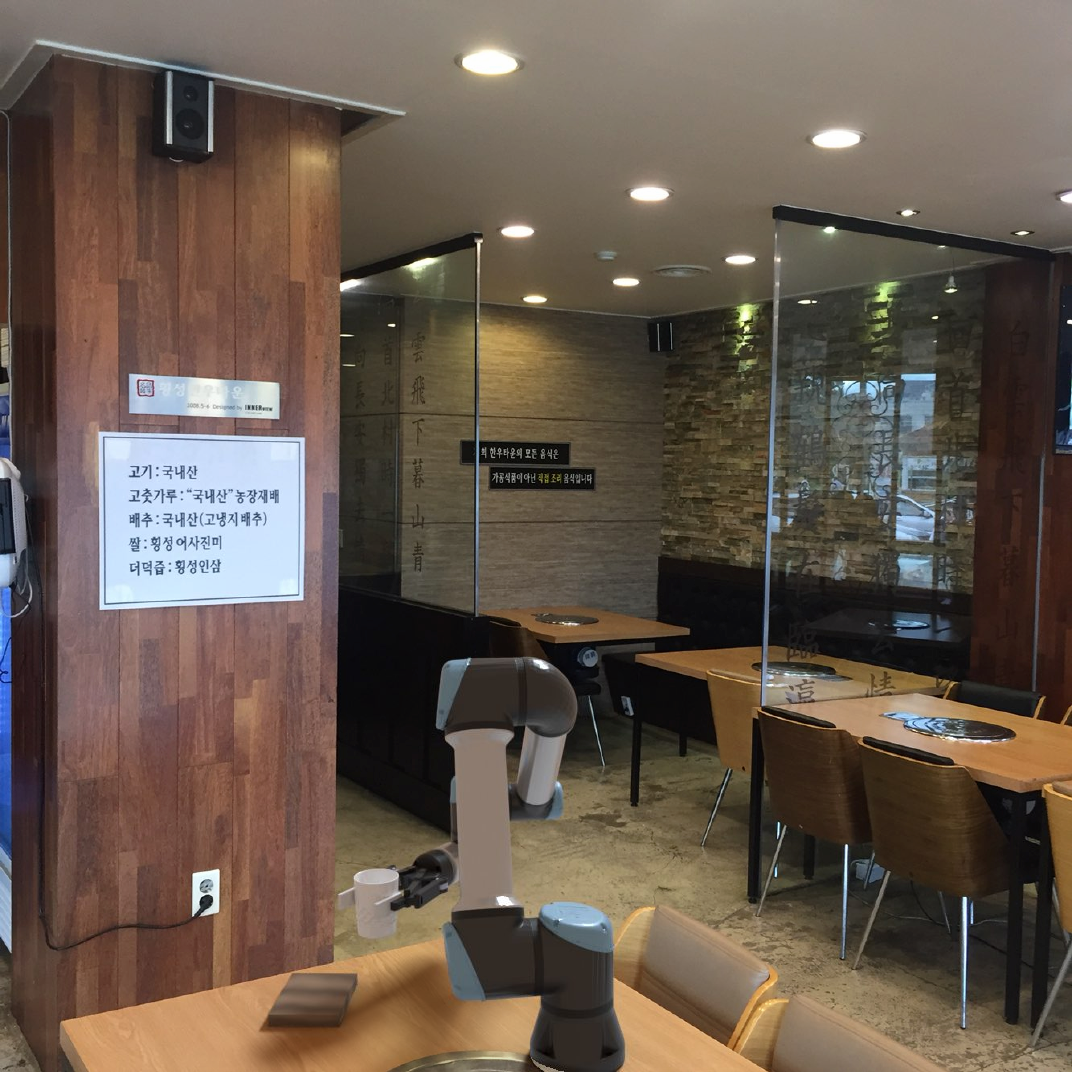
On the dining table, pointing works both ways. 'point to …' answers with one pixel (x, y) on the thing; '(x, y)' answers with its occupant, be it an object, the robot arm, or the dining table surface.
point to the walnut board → (313, 999)
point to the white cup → (374, 901)
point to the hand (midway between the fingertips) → (357, 907)
